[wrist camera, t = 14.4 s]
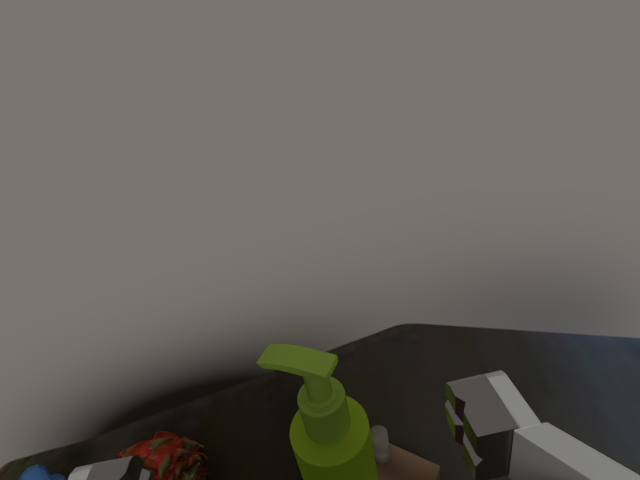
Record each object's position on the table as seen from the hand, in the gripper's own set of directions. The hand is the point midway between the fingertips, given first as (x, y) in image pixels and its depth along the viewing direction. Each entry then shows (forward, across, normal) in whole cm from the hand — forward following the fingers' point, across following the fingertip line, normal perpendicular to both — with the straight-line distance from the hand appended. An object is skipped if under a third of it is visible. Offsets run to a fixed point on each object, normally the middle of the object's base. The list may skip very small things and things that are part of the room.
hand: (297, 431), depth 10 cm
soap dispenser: (+12, 0, +30) cm, 32 cm away
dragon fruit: (+19, +19, +32) cm, 42 cm away
